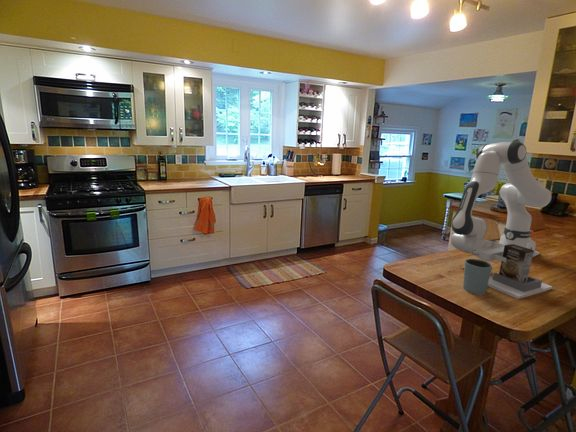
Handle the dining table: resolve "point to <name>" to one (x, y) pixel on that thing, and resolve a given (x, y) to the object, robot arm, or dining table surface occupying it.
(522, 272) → the coffee box
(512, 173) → the robot arm
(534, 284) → the white base plate
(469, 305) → the dining table surface
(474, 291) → the ceramic plant pot
